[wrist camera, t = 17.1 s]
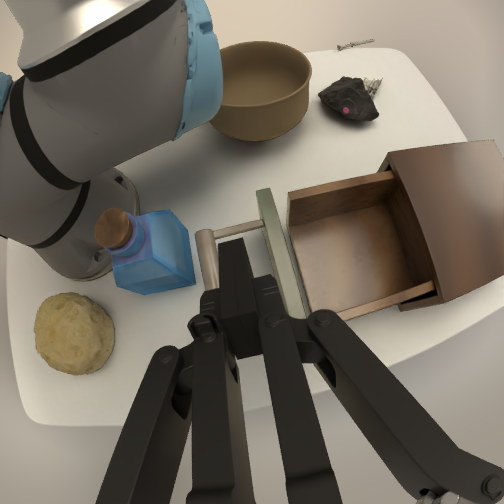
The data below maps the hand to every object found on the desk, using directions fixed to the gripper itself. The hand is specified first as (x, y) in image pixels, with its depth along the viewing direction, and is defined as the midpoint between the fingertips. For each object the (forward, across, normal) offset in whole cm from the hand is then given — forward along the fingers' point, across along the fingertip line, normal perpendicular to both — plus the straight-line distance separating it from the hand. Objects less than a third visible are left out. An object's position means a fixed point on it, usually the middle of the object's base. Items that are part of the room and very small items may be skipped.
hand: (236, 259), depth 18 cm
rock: (+24, +18, +5) cm, 30 cm away
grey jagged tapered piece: (+25, +24, +7) cm, 35 cm away
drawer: (+9, +7, -9) cm, 14 cm away
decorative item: (+8, -21, -10) cm, 25 cm away
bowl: (+24, +6, +5) cm, 25 cm away
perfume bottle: (+13, -9, -6) cm, 17 cm away
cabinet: (+9, +22, -9) cm, 26 cm away
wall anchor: (+33, +27, +16) cm, 46 cm away
